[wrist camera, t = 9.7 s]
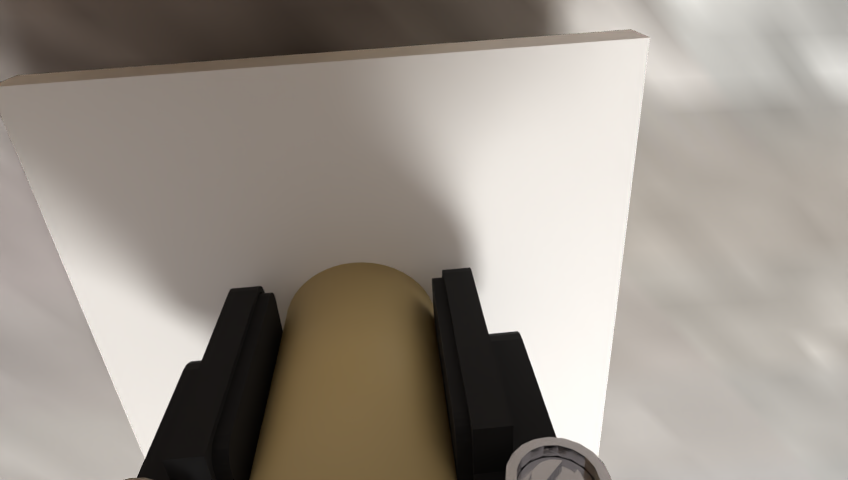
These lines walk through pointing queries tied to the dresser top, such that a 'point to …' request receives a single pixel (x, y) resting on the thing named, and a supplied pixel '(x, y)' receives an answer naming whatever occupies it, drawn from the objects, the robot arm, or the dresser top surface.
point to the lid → (345, 226)
